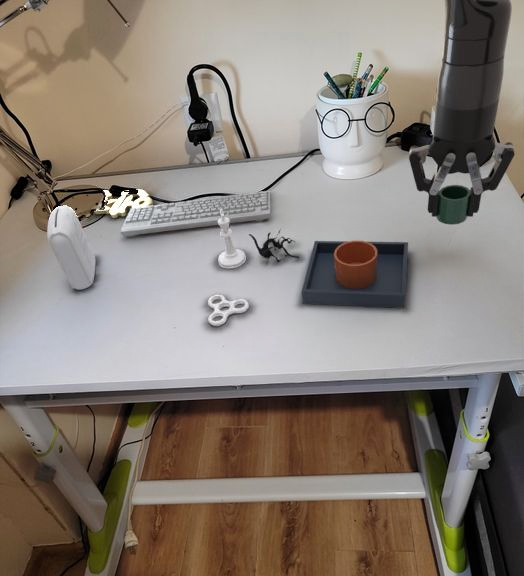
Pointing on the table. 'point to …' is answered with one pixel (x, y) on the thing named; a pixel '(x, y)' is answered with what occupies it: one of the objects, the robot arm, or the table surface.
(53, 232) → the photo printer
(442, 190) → the small bowl
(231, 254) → the chess piece
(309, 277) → the tray
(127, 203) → the lettering
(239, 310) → the fidget spinner
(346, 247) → the big bowl
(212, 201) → the keyboard
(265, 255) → the creature
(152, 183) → the table surface
